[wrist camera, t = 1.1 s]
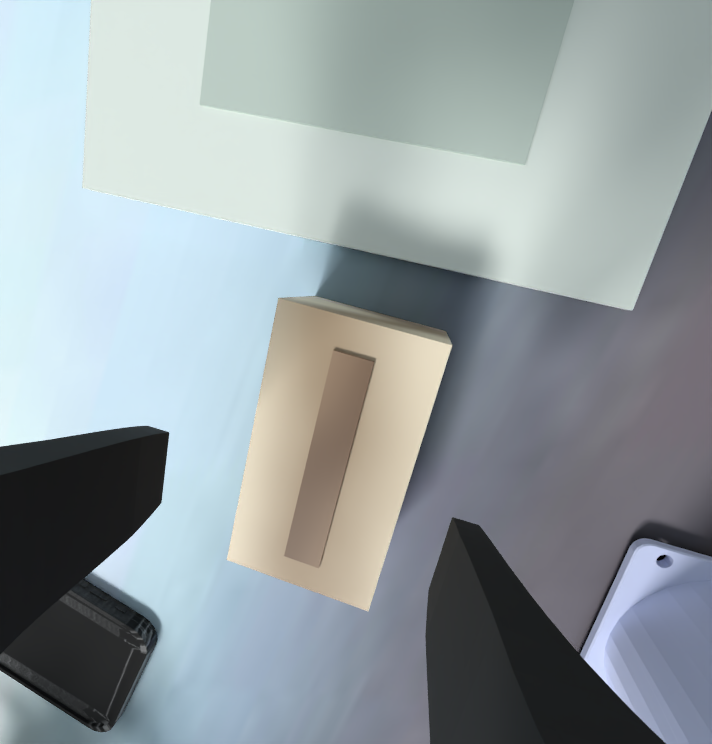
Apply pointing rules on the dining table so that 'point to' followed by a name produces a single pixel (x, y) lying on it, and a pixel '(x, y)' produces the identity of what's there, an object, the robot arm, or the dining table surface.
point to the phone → (83, 655)
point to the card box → (334, 444)
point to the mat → (412, 126)
